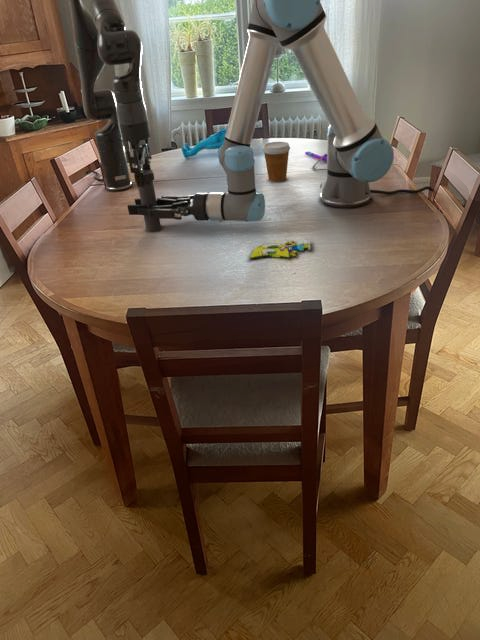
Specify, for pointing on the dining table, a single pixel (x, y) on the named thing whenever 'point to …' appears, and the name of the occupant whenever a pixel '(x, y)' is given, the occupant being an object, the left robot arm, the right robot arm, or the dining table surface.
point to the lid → (147, 176)
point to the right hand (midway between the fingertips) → (132, 206)
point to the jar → (149, 198)
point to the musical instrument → (318, 158)
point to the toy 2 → (279, 250)
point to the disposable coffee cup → (276, 160)
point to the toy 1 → (205, 144)
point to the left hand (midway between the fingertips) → (144, 181)
